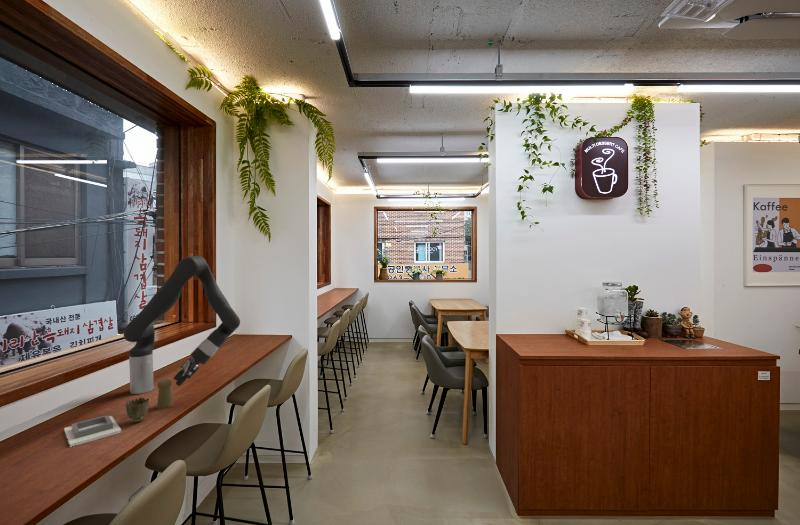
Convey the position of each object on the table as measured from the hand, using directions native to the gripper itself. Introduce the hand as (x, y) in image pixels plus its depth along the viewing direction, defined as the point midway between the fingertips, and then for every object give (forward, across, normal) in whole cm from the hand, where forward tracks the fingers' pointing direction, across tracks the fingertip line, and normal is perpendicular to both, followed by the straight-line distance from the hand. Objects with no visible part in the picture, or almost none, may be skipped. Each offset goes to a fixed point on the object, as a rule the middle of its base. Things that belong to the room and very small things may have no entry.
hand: (176, 382), depth 162 cm
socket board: (+26, +11, -13) cm, 31 cm away
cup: (+17, +11, -3) cm, 20 cm away
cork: (+10, 0, +4) cm, 10 cm away
